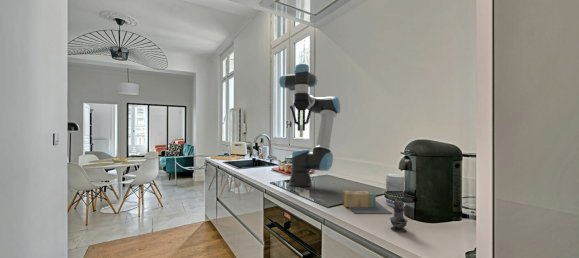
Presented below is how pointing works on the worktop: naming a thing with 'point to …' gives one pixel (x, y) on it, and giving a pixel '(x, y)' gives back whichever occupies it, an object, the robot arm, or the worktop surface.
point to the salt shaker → (398, 217)
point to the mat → (371, 210)
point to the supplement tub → (394, 185)
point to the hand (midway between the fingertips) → (301, 136)
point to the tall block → (359, 199)
